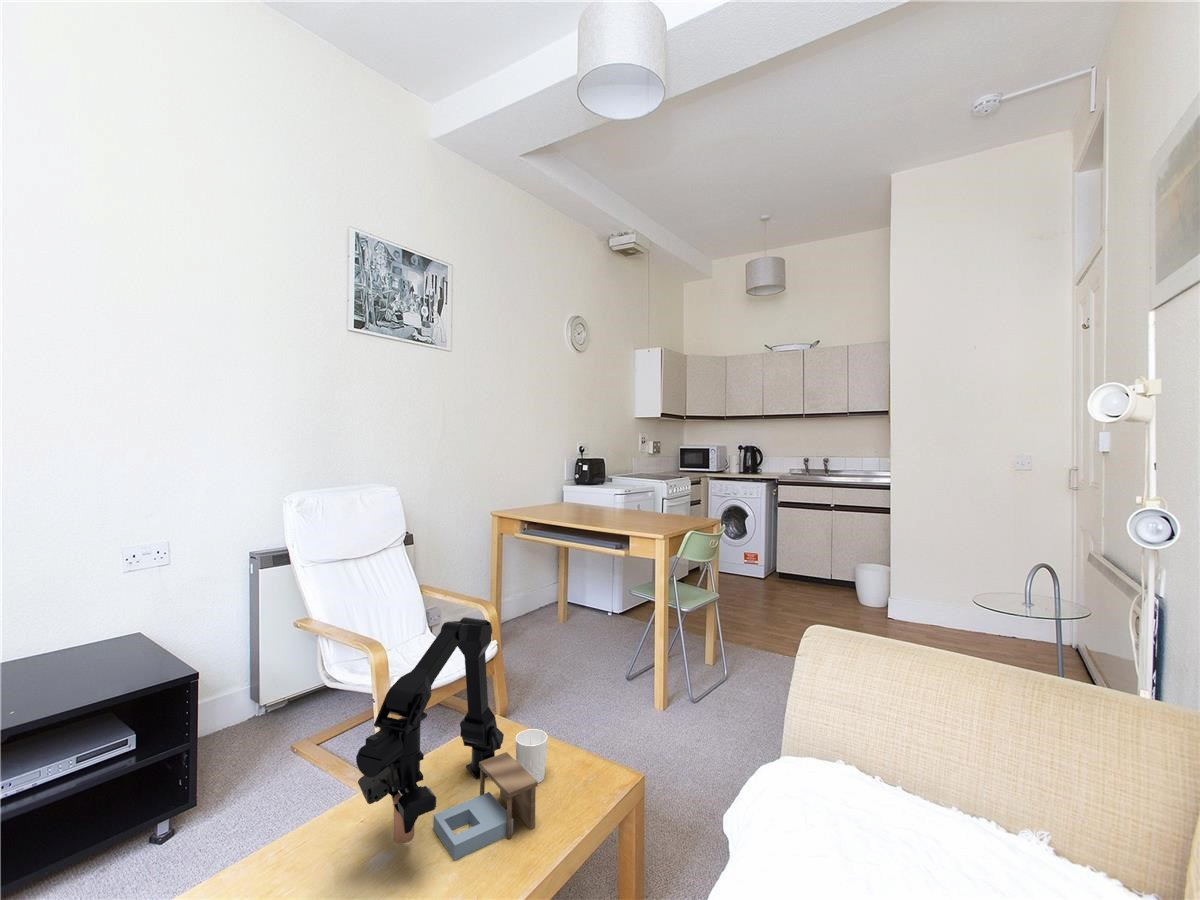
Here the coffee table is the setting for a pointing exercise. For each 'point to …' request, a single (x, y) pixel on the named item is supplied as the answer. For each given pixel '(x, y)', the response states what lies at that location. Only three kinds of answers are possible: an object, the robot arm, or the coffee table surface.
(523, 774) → the brown wooden table shape
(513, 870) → the coffee table surface
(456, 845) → the socket block
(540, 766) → the white cup
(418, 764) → the robot arm
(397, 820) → the peg
